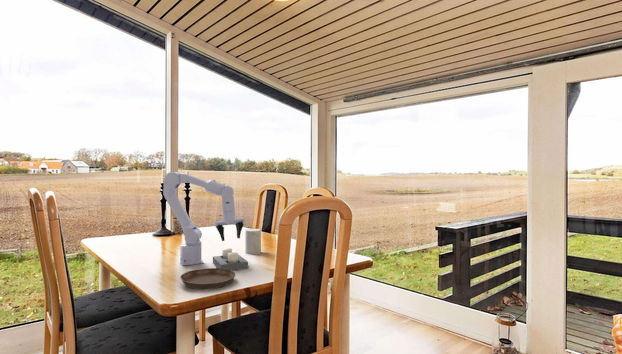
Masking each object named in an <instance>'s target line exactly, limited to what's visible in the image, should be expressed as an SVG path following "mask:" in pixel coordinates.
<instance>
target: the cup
mask: <svg viewBox="0 0 622 354" xmlns="http://www.w3.org/2000/svg"><path fill="white" fill-rule="evenodd" d="M244 233H245V235H244V236H245V240H244V241H245V250H244V251H245V254H247V255H258V254H261V253H262V229H260V228H248V229H247V228H246V229H245V231H244Z"/></svg>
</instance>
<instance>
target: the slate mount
mask: <svg viewBox="0 0 622 354" xmlns="http://www.w3.org/2000/svg"><path fill="white" fill-rule="evenodd" d="M212 264H213V265H214V266H215V268H221V269H227V270H231V271H238V270H239V271H240V270H244V269H245V270H247V269H249V261H248V260H247V259H245V258H244V257H243V256H241V255H240V254H238V263H231V264H229V263H228V258H225V259H223V258H222V255H217V256H212Z"/></svg>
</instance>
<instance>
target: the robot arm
mask: <svg viewBox="0 0 622 354" xmlns="http://www.w3.org/2000/svg"><path fill="white" fill-rule="evenodd" d="M162 181H163V191H162V192H163V193H162V194H163V196H164V199H165V200H166V202H167V204H168V206H169V208H170V209H171V211H172V212H173V214H174V216H175V218H176V219H177V222H178V223H179V225H180V227H181V228H182V233H183V236H184V241H185V244H181V245H180V248H179V249H180V251H179V253H180V255H179V256H180V259H179V262H180V264H181V265H182V266H189V265H190V266H191V265H200V264H204V261H203V259H202V241H201V240H200V239H201V238H202V235H203V234H202V231H201V230H200V229H199V228H198V227H197V226H196V225H195V223H193V221H192V220H191V218H190V216H189V214H188V212H187V211H186V209H185V207H184V205H183V204H182V202H181V200H180V199H179V196H178V195H177V191H178V188H179V186H180V185H181V184H185V183H189V184H192V185H195V186H198V187H202V188H204V189H205V192H208V193H210V194H213V195H216V196H221V200H222V202H221V205H222V207H221V208H222V220H220V221H214V222H213V226H214V227H215V228H216V230H217V231H218V234H219V235H220V238H221V241H222V242H225V227H224V226H228V225H234V224H235V229H236V238H237V239H240V238H241V233H242V230H243V227H244V224H245V223H246V219H245V217H241V218H236V209H235V208H236V207H235V198H234V194H235V193H234V192H235V191H234V190H235V189H234V188H233V187H232V186H230V185H226V183H220V182H218V181H216V179H213V180H212V179H209V180H204V179H201V178H199V177H197V176H193V175H191V174H188V173H183V172H180V171H169V172H168V173H166V174H165V176H164V178H163V180H162Z"/></svg>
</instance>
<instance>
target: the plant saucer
mask: <svg viewBox="0 0 622 354" xmlns="http://www.w3.org/2000/svg"><path fill="white" fill-rule="evenodd" d="M235 277H236V272H235V271H234V270H227V269H221V268H217V267H211V268H210V267H208V268H207V267H206V268H205V267H204V268H198V269H193V270H190V271H186V272H184V273H182V274H181V276H180V280H181V281H182V282H183V284H184V285H185V286H187V287H189V288H190V289H195V290H212V289H213V290H214V289H218V288H222V287H225V286H227V285H229V284H230V283H231V282H232V281H233V280H234V279H235Z"/></svg>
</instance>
